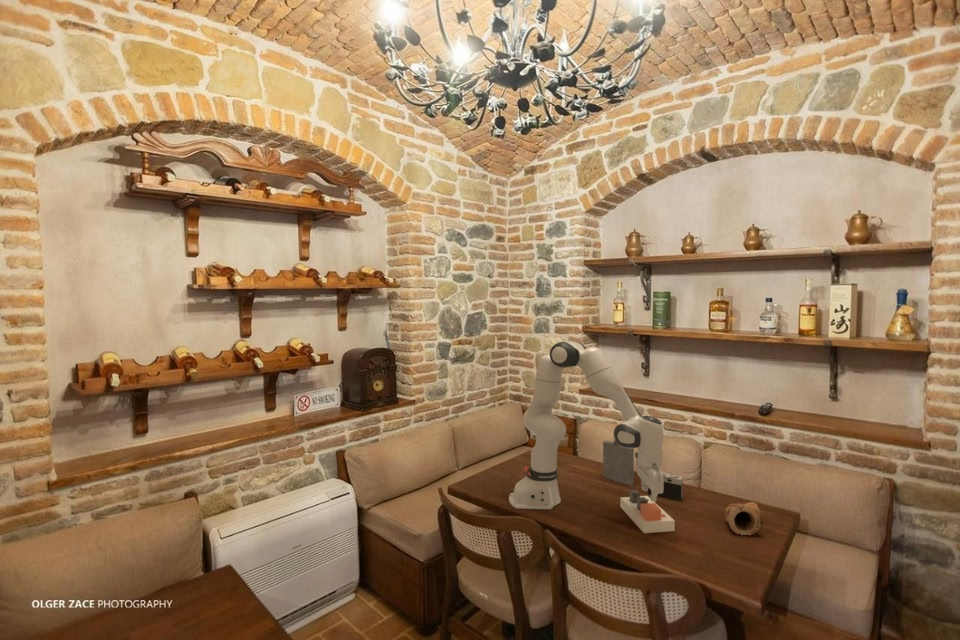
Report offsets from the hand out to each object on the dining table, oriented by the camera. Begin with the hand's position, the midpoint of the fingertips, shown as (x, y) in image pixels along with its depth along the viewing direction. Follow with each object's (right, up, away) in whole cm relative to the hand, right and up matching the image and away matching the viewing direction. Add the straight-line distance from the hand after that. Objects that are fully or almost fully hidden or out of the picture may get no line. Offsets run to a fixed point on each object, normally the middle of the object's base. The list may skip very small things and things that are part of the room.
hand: (648, 495), depth 179 cm
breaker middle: (0, -9, +8) cm, 12 cm away
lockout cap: (+1, -9, +1) cm, 9 cm away
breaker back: (0, -8, +15) cm, 17 cm away
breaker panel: (+2, -12, +9) cm, 15 cm away
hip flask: (+2, -10, +47) cm, 48 cm away
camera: (+19, -11, +30) cm, 37 cm away
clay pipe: (+37, -13, +1) cm, 39 cm away
